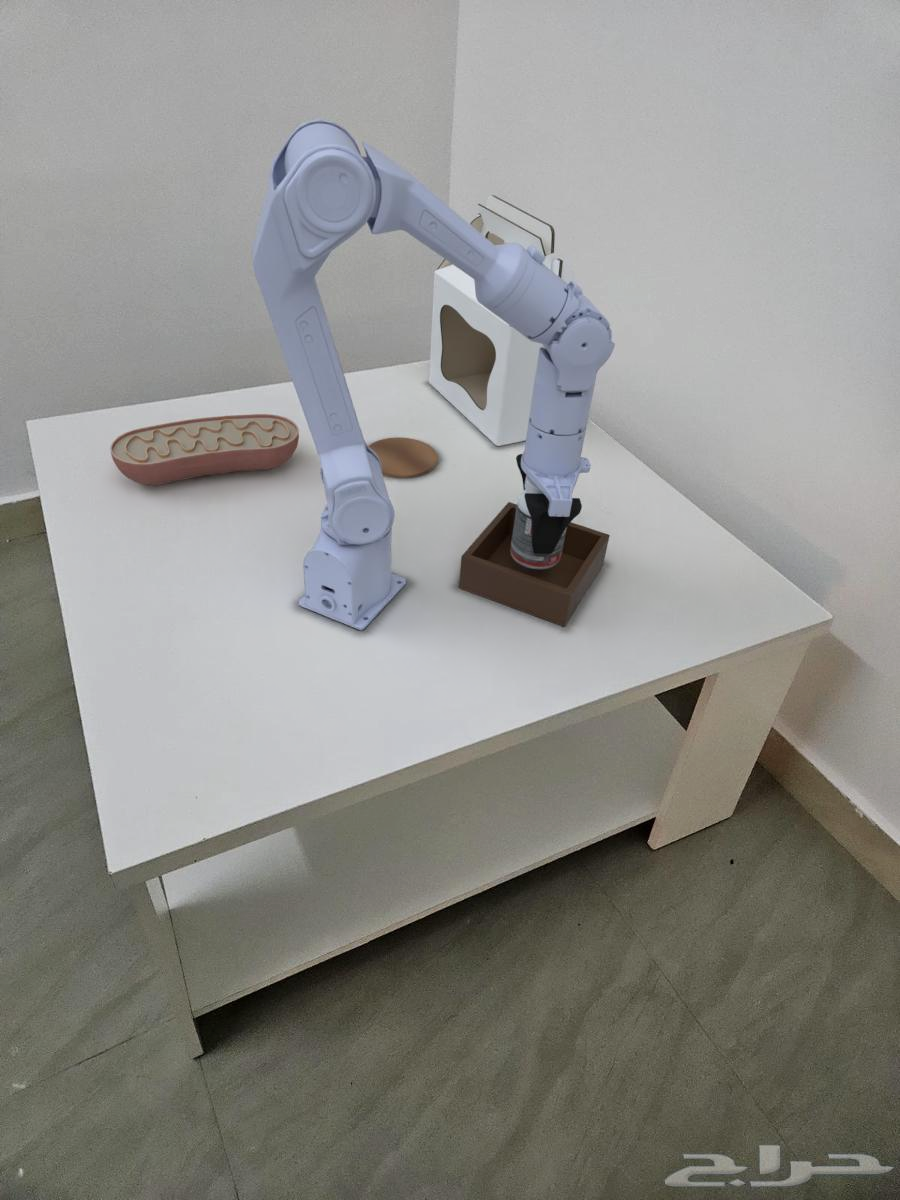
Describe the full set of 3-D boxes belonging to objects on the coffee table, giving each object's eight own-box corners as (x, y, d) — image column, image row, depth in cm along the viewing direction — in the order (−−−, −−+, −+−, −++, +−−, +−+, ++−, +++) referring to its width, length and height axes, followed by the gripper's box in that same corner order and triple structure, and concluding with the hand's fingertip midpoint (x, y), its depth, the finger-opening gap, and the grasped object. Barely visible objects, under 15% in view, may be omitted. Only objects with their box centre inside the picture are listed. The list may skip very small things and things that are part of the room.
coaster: (415, 486, 106) (415, 482, 105) (349, 464, 109) (349, 460, 109) (450, 453, 113) (450, 450, 112) (387, 433, 116) (387, 430, 116)
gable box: (427, 382, 129) (436, 190, 111) (499, 370, 134) (519, 185, 117) (497, 448, 115) (521, 239, 97) (575, 432, 120) (611, 230, 102)
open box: (564, 627, 86) (571, 595, 83) (458, 587, 90) (461, 556, 87) (603, 565, 95) (610, 534, 92) (504, 532, 99) (508, 501, 96)
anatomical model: (121, 504, 98) (113, 468, 95) (114, 463, 105) (106, 428, 102) (308, 477, 106) (306, 443, 102) (290, 440, 113) (288, 407, 109)
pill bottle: (557, 575, 88) (572, 498, 82) (506, 566, 89) (517, 488, 83) (563, 545, 93) (577, 470, 86) (513, 537, 93) (524, 461, 87)
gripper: (612, 461, 75) (586, 576, 84) (584, 390, 86) (564, 499, 95) (536, 458, 74) (518, 575, 83) (518, 387, 86) (504, 497, 94)
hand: (538, 534), depth 89 cm, fingers closed on pill bottle, 5 cm apart
